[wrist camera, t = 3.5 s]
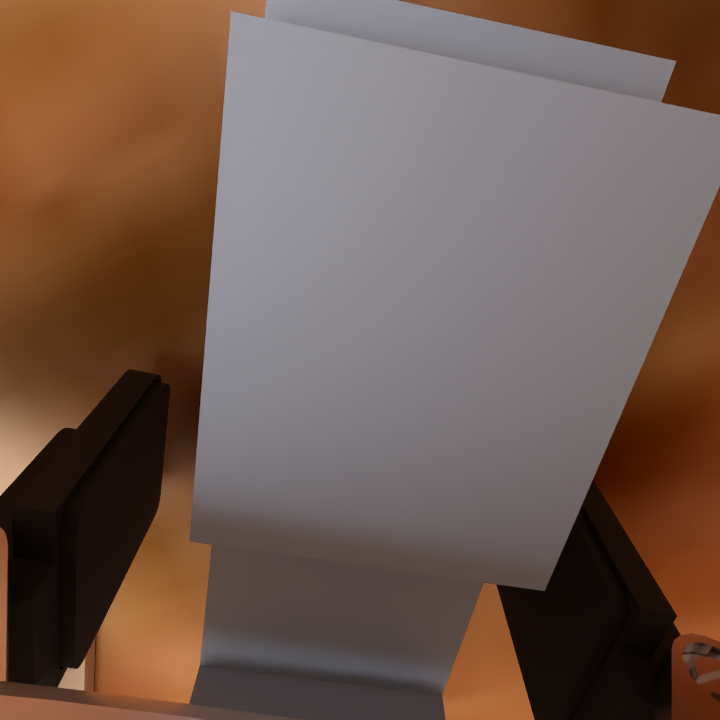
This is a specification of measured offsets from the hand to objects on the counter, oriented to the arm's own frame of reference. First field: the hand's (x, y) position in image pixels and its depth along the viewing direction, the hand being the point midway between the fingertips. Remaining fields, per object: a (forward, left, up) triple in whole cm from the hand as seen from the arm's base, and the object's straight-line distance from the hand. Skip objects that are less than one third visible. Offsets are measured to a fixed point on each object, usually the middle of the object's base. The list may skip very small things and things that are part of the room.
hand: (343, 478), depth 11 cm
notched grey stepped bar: (0, 0, -1) cm, 1 cm away
